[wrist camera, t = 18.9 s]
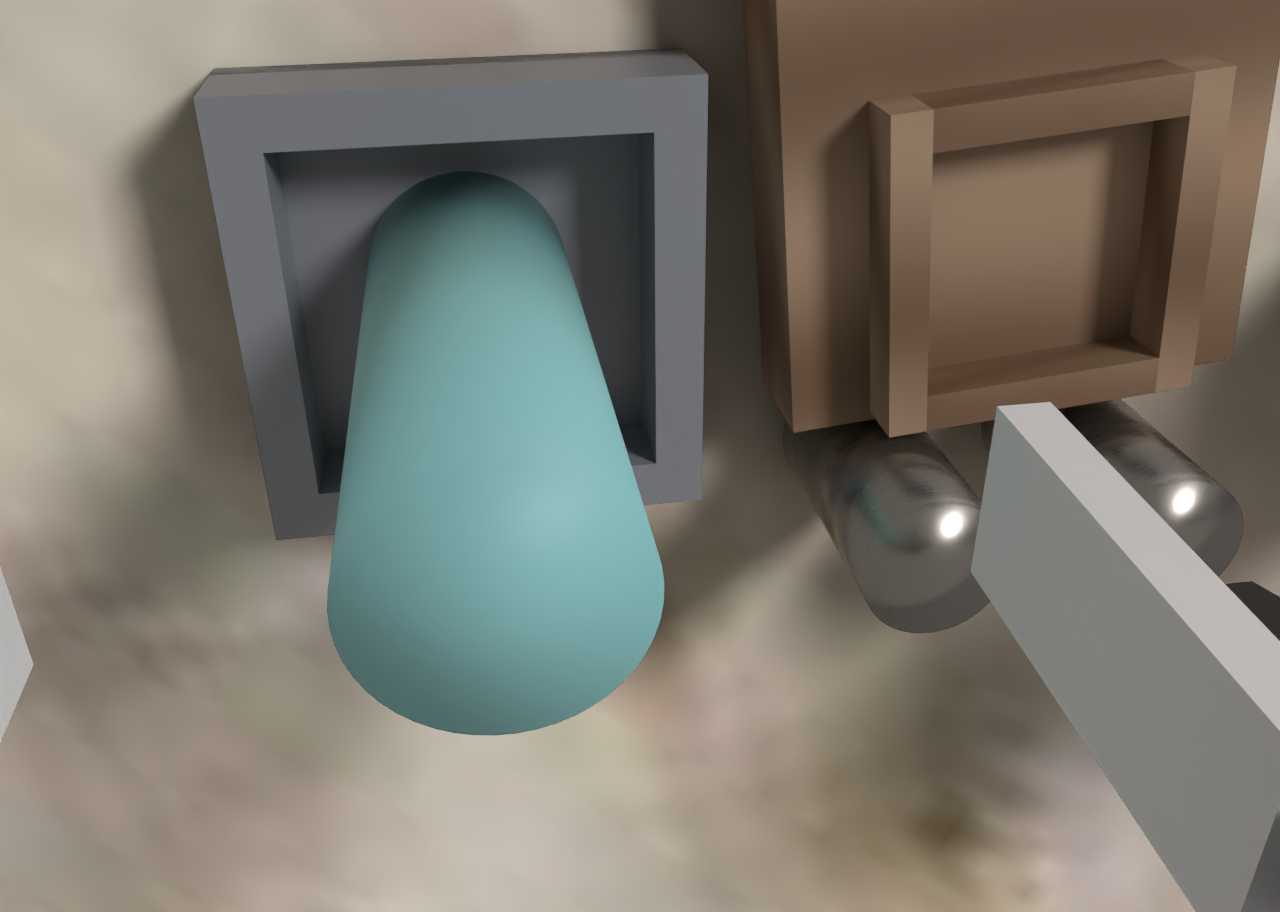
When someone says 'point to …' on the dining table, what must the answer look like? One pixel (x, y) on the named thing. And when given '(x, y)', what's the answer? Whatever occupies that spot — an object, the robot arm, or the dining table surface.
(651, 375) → the tray
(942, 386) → the brown flat block
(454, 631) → the dowel
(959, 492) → the bench dogs
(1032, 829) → the dining table surface
